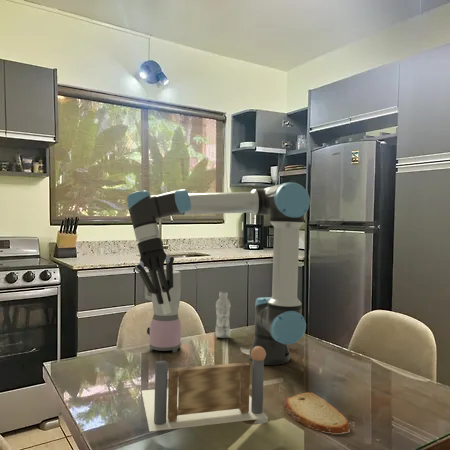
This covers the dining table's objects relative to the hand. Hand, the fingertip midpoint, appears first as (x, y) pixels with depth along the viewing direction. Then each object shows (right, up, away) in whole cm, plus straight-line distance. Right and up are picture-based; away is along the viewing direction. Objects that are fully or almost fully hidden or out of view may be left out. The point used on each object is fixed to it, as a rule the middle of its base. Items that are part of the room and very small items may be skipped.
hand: (167, 313), depth 128 cm
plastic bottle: (+17, -22, +54) cm, 61 cm away
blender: (-8, -22, +37) cm, 43 cm away
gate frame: (+11, -23, -14) cm, 29 cm away
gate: (+14, -21, -22) cm, 33 cm away
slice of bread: (+42, -24, -17) cm, 51 cm away
